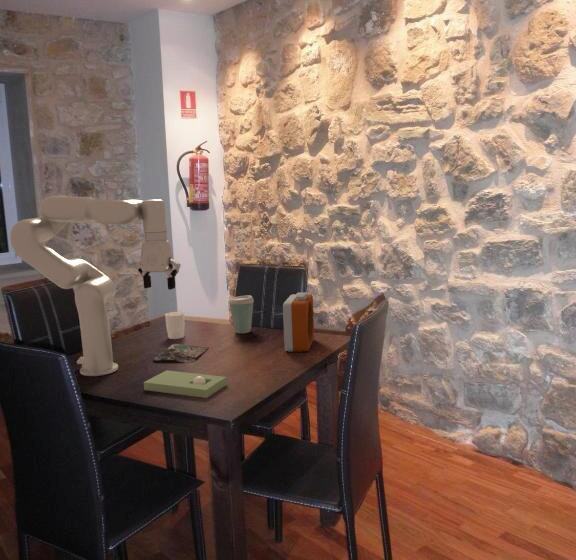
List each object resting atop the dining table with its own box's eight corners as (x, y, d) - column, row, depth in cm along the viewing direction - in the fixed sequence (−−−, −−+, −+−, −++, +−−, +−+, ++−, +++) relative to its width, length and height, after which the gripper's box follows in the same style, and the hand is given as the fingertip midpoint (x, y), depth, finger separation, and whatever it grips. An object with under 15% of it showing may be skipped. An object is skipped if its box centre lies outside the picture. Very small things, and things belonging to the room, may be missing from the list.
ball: (198, 393, 178) (188, 385, 179) (205, 389, 181) (195, 381, 182) (203, 383, 176) (193, 376, 177) (210, 379, 180) (200, 371, 181)
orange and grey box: (308, 352, 213) (306, 297, 210) (284, 352, 215) (282, 297, 211) (314, 339, 231) (312, 288, 228) (292, 339, 233) (290, 288, 229)
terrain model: (193, 365, 207) (192, 356, 206) (153, 364, 210) (152, 355, 209) (211, 348, 226) (210, 340, 226) (174, 348, 229) (173, 340, 229)
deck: (144, 389, 181) (143, 382, 181) (167, 377, 192) (166, 370, 191) (206, 398, 172) (206, 389, 171) (226, 384, 183) (226, 377, 182)
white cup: (180, 340, 239) (178, 316, 237) (163, 339, 241) (161, 315, 239) (189, 335, 246) (187, 311, 244) (172, 334, 248) (170, 311, 247)
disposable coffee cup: (231, 335, 242) (229, 300, 239) (229, 329, 252) (227, 295, 250) (257, 333, 244) (255, 298, 241) (253, 327, 254) (251, 293, 252)
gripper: (127, 238, 193) (131, 289, 196) (170, 238, 186) (174, 291, 189) (141, 236, 200) (145, 285, 203) (184, 236, 193) (187, 287, 196)
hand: (159, 288), depth 196 cm, fingers open, 9 cm apart
